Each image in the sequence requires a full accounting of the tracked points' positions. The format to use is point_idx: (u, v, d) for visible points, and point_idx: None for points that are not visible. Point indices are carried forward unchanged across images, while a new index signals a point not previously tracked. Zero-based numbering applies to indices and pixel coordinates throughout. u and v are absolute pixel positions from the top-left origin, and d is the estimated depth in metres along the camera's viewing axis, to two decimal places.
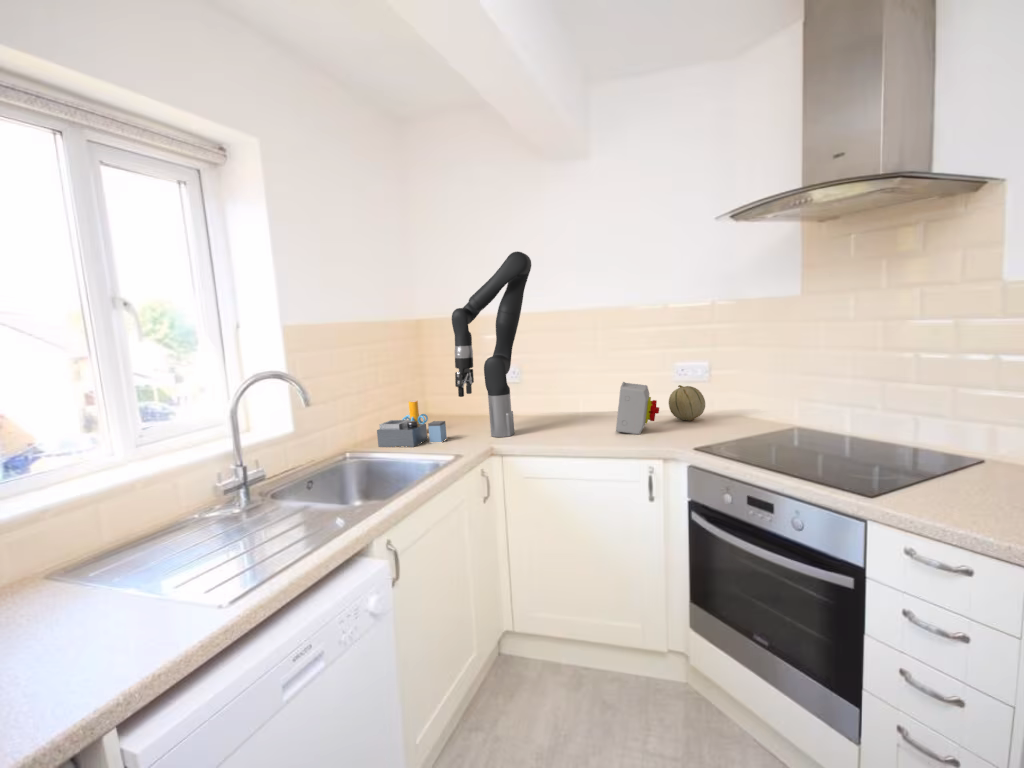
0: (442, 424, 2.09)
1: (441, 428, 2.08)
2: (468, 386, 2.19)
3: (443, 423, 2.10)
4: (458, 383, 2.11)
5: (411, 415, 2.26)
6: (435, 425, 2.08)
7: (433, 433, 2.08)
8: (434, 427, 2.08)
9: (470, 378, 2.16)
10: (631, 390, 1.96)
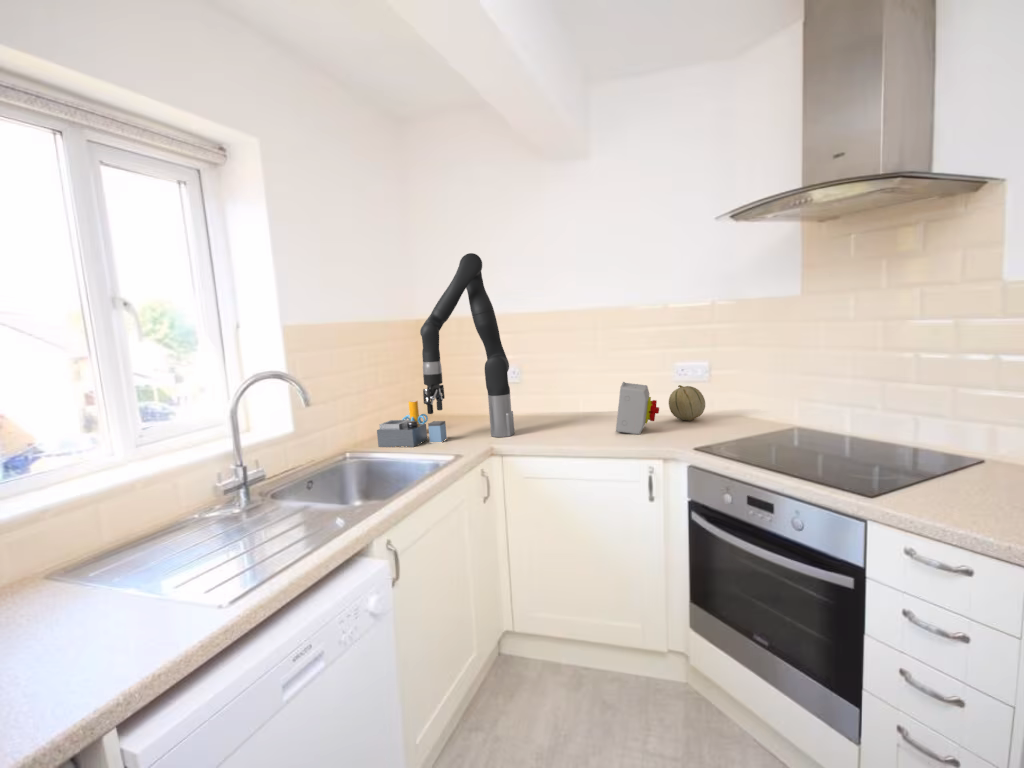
0: (442, 424, 2.09)
1: (441, 428, 2.08)
2: (438, 402, 2.13)
3: (443, 423, 2.10)
4: (427, 400, 2.05)
5: (411, 415, 2.26)
6: (435, 425, 2.08)
7: (433, 433, 2.08)
8: (434, 427, 2.08)
9: (440, 394, 2.11)
10: (631, 390, 1.96)
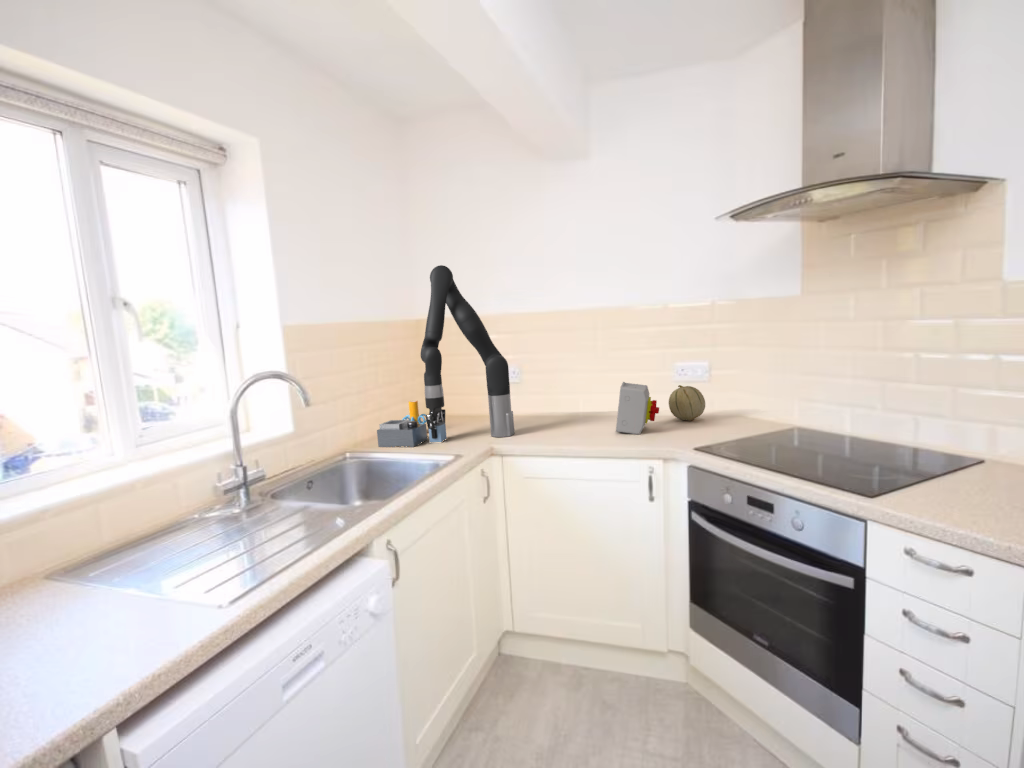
0: (442, 424, 2.09)
1: (441, 428, 2.08)
2: None
3: (443, 423, 2.10)
4: (430, 425, 2.07)
5: (411, 415, 2.26)
6: None
7: None
8: None
9: (441, 418, 2.11)
10: (631, 390, 1.96)
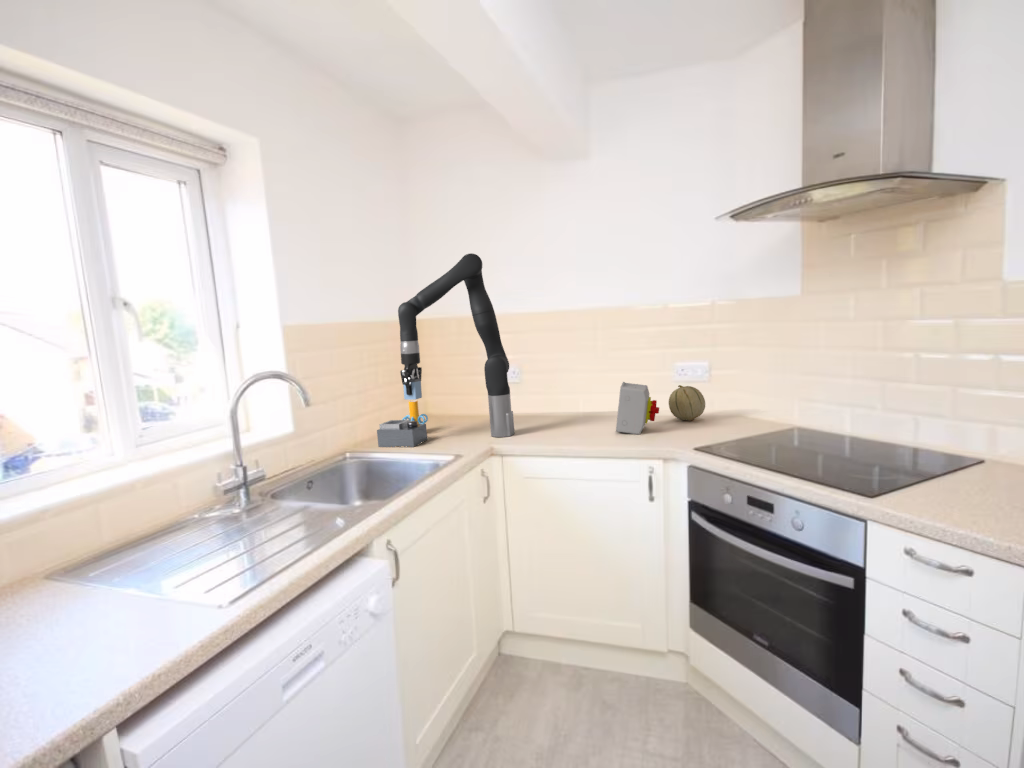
0: (417, 381, 2.08)
1: (416, 385, 2.07)
2: None
3: (418, 380, 2.09)
4: (405, 381, 2.06)
5: (411, 415, 2.26)
6: None
7: None
8: None
9: (417, 375, 2.10)
10: (631, 390, 1.96)
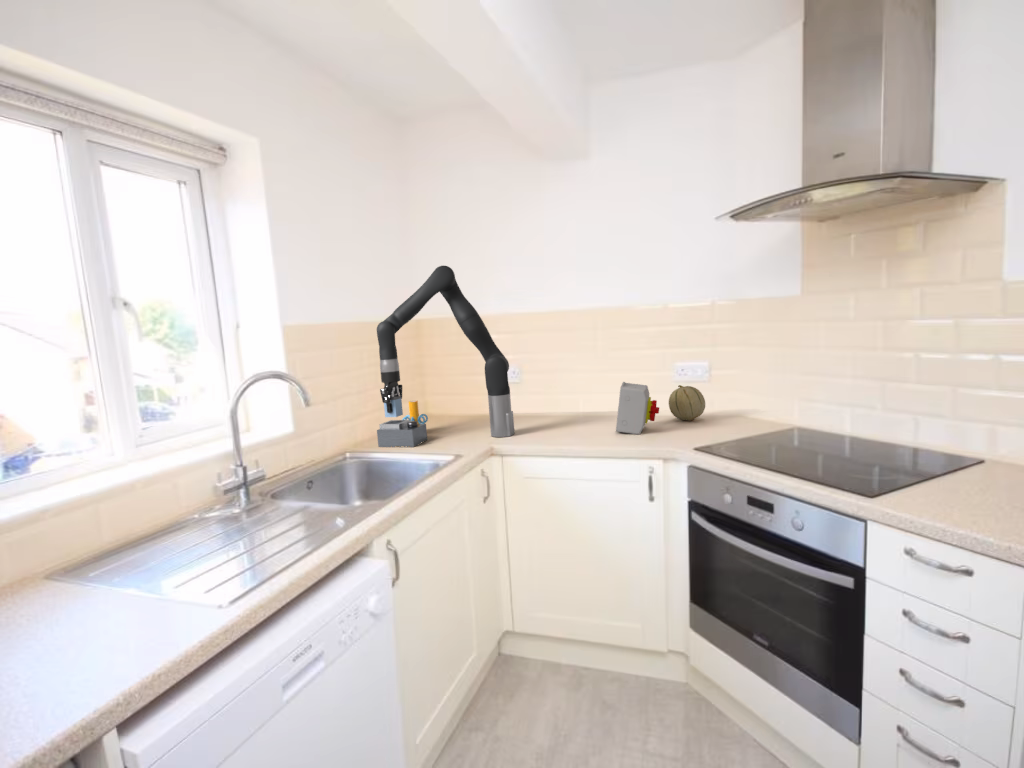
0: (397, 398, 2.09)
1: (396, 402, 2.08)
2: None
3: (399, 398, 2.10)
4: (386, 399, 2.07)
5: (411, 415, 2.26)
6: None
7: None
8: None
9: (397, 393, 2.11)
10: (631, 390, 1.96)
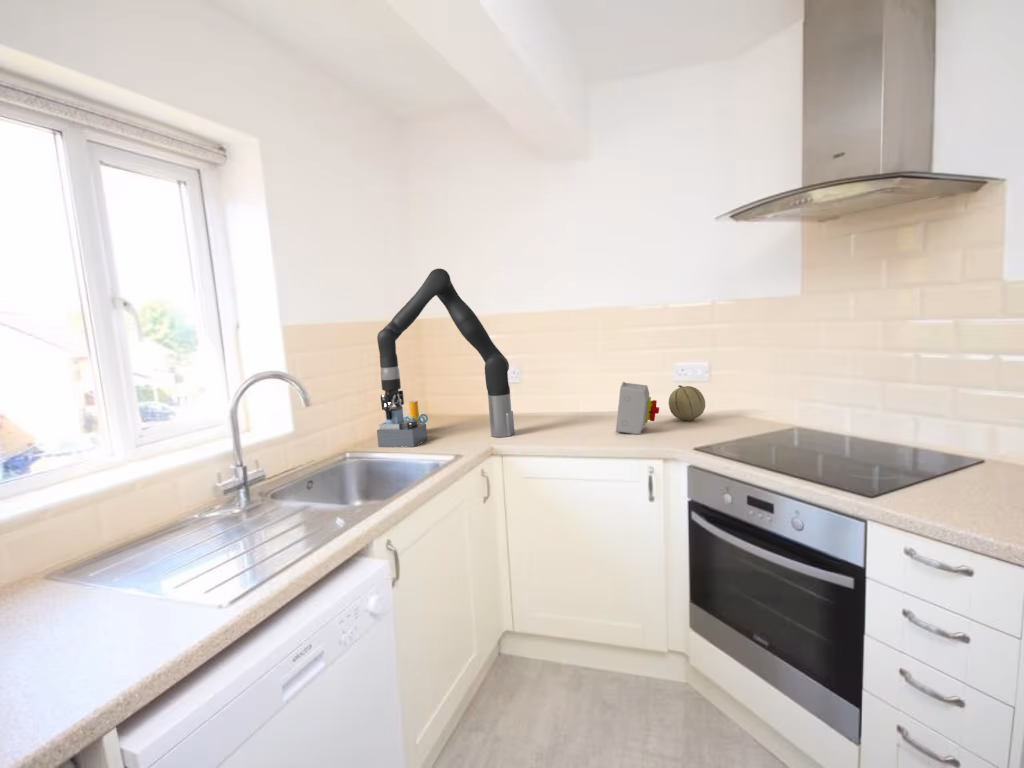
0: (399, 409, 2.10)
1: (397, 413, 2.09)
2: None
3: (400, 408, 2.11)
4: (385, 406, 2.07)
5: (411, 415, 2.26)
6: (391, 410, 2.08)
7: None
8: None
9: (398, 400, 2.12)
10: (631, 390, 1.96)
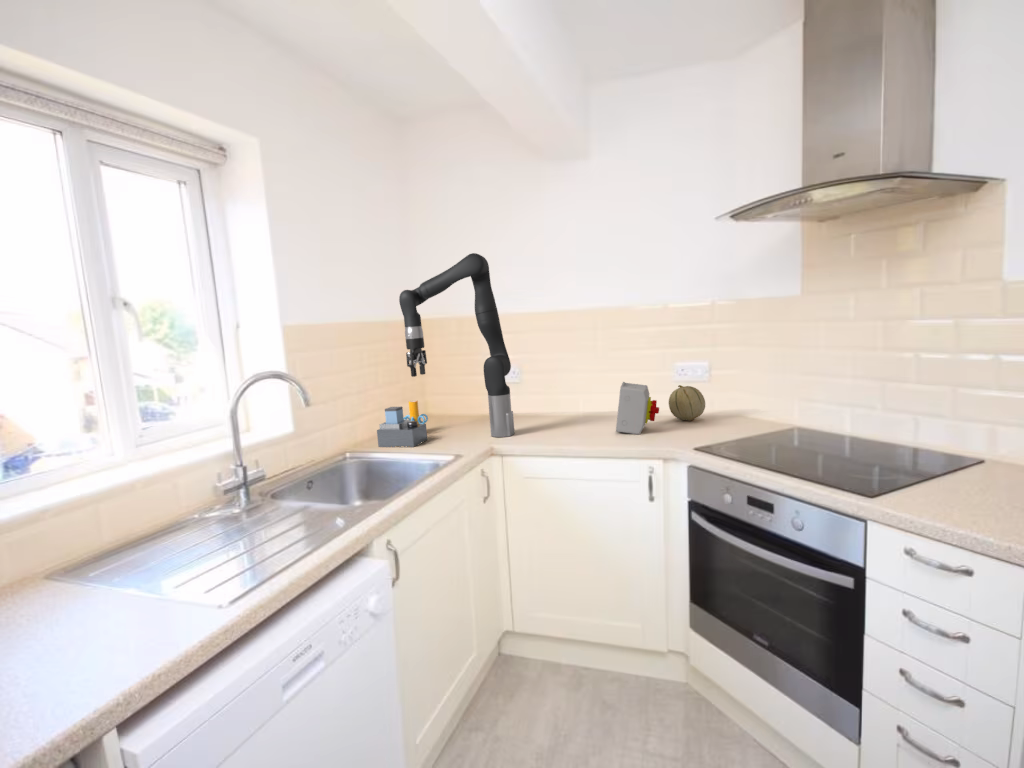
0: (399, 409, 2.10)
1: (397, 413, 2.09)
2: (421, 367, 2.23)
3: (400, 408, 2.11)
4: (410, 363, 2.15)
5: (411, 415, 2.26)
6: (391, 410, 2.08)
7: (390, 418, 2.09)
8: (390, 412, 2.09)
9: (422, 358, 2.21)
10: (631, 390, 1.96)
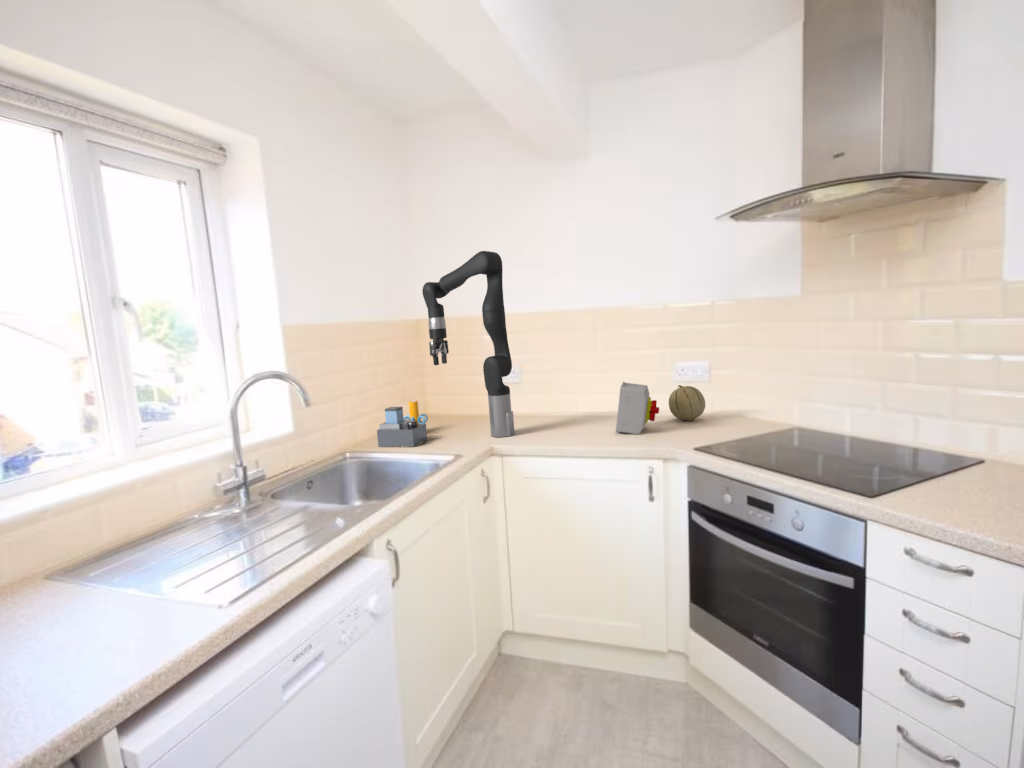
0: (399, 409, 2.10)
1: (397, 413, 2.09)
2: (443, 356, 2.33)
3: (400, 408, 2.11)
4: (433, 352, 2.25)
5: (411, 415, 2.26)
6: (391, 410, 2.08)
7: (390, 418, 2.09)
8: (390, 412, 2.09)
9: (444, 348, 2.30)
10: (631, 390, 1.96)
